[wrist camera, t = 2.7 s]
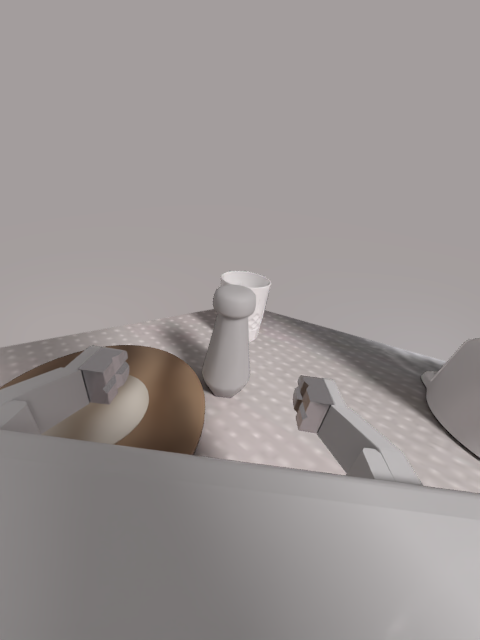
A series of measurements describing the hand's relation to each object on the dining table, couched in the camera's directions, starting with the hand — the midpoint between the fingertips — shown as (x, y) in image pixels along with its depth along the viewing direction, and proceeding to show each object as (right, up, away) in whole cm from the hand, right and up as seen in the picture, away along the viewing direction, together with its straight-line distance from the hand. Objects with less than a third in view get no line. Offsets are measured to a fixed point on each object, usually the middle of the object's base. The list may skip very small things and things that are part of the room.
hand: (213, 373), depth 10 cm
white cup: (+1, 0, +29) cm, 29 cm away
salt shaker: (-1, -6, +17) cm, 18 cm away
